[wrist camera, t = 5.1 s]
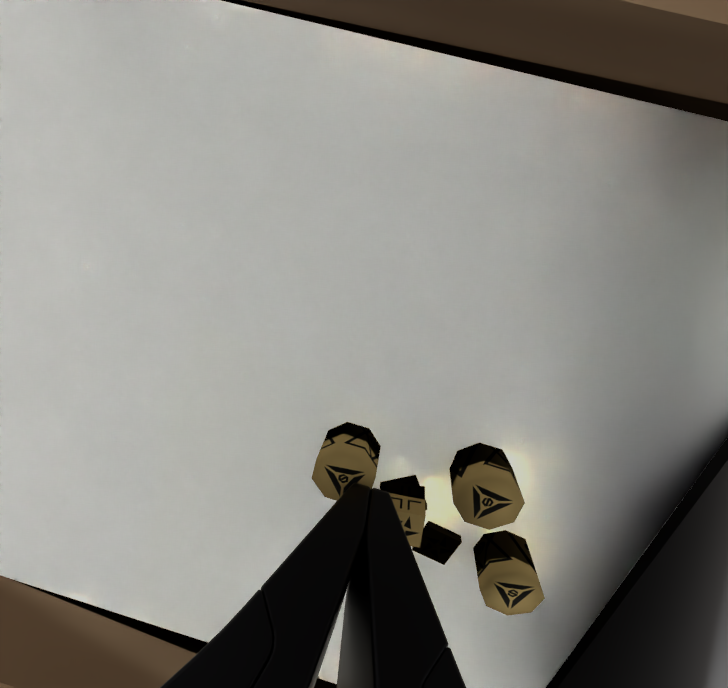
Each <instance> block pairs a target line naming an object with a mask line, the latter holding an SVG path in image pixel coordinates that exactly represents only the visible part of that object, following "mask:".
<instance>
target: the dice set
mask: <svg viewBox="0 0 728 688" xmlns="http://www.w3.org/2000/svg"><path fill="white" fill-rule="evenodd" d="M380 447H381V446H380V444H379V443H378V441H377V440H376V438H375V437H374V435H373V433H372V432H371V430H370V429H369V428H366V427H363V426H360V425H356V424H353V423H350V422H346V423H344V424H341V425H339V426H337V427H335V428H333V429H330V430H328V433H327V435H326V437H325V440H324V442H323V445H322V447H321V449H320V452H319V454H318V457H317V459H316V463H315V467H314V471H313V475H312V480H313V481H314V482H315V484H316V485H317V487H318V488H319V489H320V491H321V492H322V494H323V495H324V497H327V498H330V499H333V500H337V501H338V500H339V498H340V497H341V496H342V495H343V494H344V493H345V492H346V490H347V489H348V488H349V487H350V486H351V485H352V484H353V483H359V484H362V485H366V486H369V487H370V489H372V486H373V483H374V480H375V477H376V472H377V465H378V459H379V453H380ZM449 470H450V478H451V487H452V495H453V503H454V505H455V506H456V508H457V510H458V511H459V513H460V515H461V517H462V518H463V520H464V522H467V523H470V524H473V525H476V526H479V527H483V528H486V529H489V530H490V529H493V528H496V527H500V526H503V525H506V524H509V523H513V522H514V521H515V519H516V518H517V516H518V514H519V512H520V510H521V509H522V507H523V505H524V503H525V502H524V499H523V497H522V494H521V491H520V488H519V486H518V483H517V480H516V477H515V475H514V472H513V469H512V467H511V465H510V463H509V461H508V459H507V457H506V455H505V454H504V452H503V450H502V449H499V448H496V447H492V446H489V445H486V444H483V443H477V444H474V445H471V446H469V447H466V448H463V449H461V450H458V451H457V453H456V455H455V457H454V459H453V462H452V464H451V466H450V469H449ZM380 490H383V491H387V492H388V493H389V494H390V496H391V498H392V501H393V503H394V506H395V509H396V511H397V514H398V516H399V519H400V521H401V524H402V526H403V529H404V532H405V534H406V537H407V539H408V542H409V544H410V546H412V550H413V551H415V552H417V553H419V554H422V555H424V556H426V557H428V558H430V559H432V560H435V561H437V562H439V563H441V564H443V565H445V563H446V562H447V561H448V559H449V558H450V557H451V555H452V554H453V553H454V552H455V550H456V549H457V548H458V546H459V545H460V544H461V543H462V539H461V535H459V534H456V533H454V532H452V531H450V530H448V529H446V528H443V527H441V526H439V525H437V524H435V523H433V522H430V521H428V522H427V524H426V525H425V527H424V528H423V526H424V521H425V510H427V503H426V500H425V487H424V486H420V485H419V482H418V479H417V477H416V475H412V476H407V477H402V478H398V479H393V480H388V481H383V482H380ZM473 551H474V557H475V563H476V569H477V576H478V582H479V588H480V591H481V594H482V596H483V599H484V601H485V604H486V606H488V607H490V608H492V609H494V610H496V611H499V612H501V613H503V614H505V615H515V614H523V613H531V612H532V611H533V610H534V609H535V608H536V607H537V606H538V605H539V604H540V603H541V602H542V601H543V600H544V599H545V597H544V594H543V591H542V588H541V585H540V582H539V579H538V576H537V573H536V570H535V567H534V564H533V561H532V557H531V554H530V551H529V548H528V545H527V542H526V539H524V538H522V537H520V536H517V535H515V534H513V533H511V532H509V531H506V530H504V531H498V532H493V533H487V534H483V536H482V537H481V538H480V540H479V541H478V542H477V544H476V545H475V546H474V547H473Z"/></svg>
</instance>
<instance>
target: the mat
mask: <svg viewBox="0 0 728 688" xmlns="http://www.w3.org/2000/svg"><path fill="white" fill-rule="evenodd" d="M546 688H728V437H727V438H726V440H725V441H724V443H723V444H722V445H721V447H720V448H719V449H718V451H717V452H716V454H715V455H714V456H713V458H712V459H711V460H710V462H709V463H708V465H707V466H706V467H705V469H704V470H703V471H702V473H701V474H700V476H699V477H698V478H697V480H696V481H695V482H694V484H693V485H692V487H691V488H690V489H689V491H688V492H687V493H686V495H685V496H684V498H683V499H682V500H681V502H680V503H679V505H678V506H677V507H676V509H675V510H674V511H673V513H672V514H671V516H670V517H669V518H668V520H667V521H666V522H665V524H664V525H663V527H662V528H661V529H660V531H659V532H658V533H657V535H656V536H655V538H654V539H653V540H652V542H651V543H650V544H649V546H648V547H647V549H646V550H645V551H644V553H643V554H642V555H641V557H640V558H639V560H638V561H637V562H636V564H635V565H634V566H633V568H632V569H631V571H630V572H629V573H628V575H627V576H626V577H625V579H624V580H623V582H622V583H621V584H620V586H619V587H618V588H617V590H616V591H615V593H614V594H613V595H612V597H611V598H610V600H609V601H608V602H607V604H606V605H605V606H604V608H603V609H602V611H601V612H600V613H599V615H598V616H597V617H596V619H595V620H594V622H593V623H592V624H591V626H590V627H589V628H588V630H587V631H586V633H585V634H584V635H583V637H582V638H581V639H580V641H579V642H578V644H577V645H576V646H575V648H574V649H573V650H572V652H571V653H570V655H569V656H568V657H567V659H566V660H565V661H564V663H563V664H562V666H561V667H560V668H559V670H558V671H557V672H556V674H555V675H554V677H553V678H552V679H551V681H550V682H549V684H548V685H547V686H546Z"/></svg>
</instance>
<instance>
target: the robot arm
mask: <svg viewBox="0 0 728 688" xmlns="http://www.w3.org/2000/svg"><path fill="white" fill-rule="evenodd" d="M347 586H348V588H347ZM346 589H347V594H346V601H345V610H344V620H343V630H342V640H341V650H340V660H339V670H338V679H337V688H466V686H465V684H464V681H463V679H462V676H461V674H460V672H459V669H458V666H457V664H456V661H455V659H454V656H453V654H452V651H451V649H450V648H448V641H447V639H446V636H445V634H444V631H443V628H442V626H441V623H440V621H439V618H438V616H437V613H436V611H435V608H434V605H433V603H432V600H431V598H430V595H429V593H428V590H427V588H426V585H425V583H424V580H423V577H422V575H421V572H420V570H419V567H418V565H417V562H416V560H415V557H414V554H413V552H412V549H411V547H410V544H409V542H408V539H407V537H406V534H405V532H404V529H403V526H402V524H401V521H400V519H399V516H398V514H397V511H396V509H395V506H394V503H393V501H392V498H391V496H390V494H389V493H388V492H387V491H383V490H380V489H376V488H372V489H370V487H369V486H366V485H362V484H359V483H353V484H352V485H351V486H350V487H349V488H348V489H347V490H346V492H345V493H344V494H343V495H342V496H341V497H340V498H339V500H338V501H337V502H336V503H335V504H334V505H333V506H332V507H331V509H330V510H329V511H328V512H327V513H326V514H325V515H324V517H323V518H322V519H321V520H320V521H319V522H318V523H317V524H316V526H315V527H314V528H313V529H312V530H311V531H310V532H309V534H308V535H307V536H306V537H305V538H304V539H303V540H302V541H301V543H300V544H299V545H298V546H297V547H296V548H295V549H294V551H293V552H292V553H291V554H290V555H289V556H288V557H287V558H286V560H285V561H284V562H283V563H282V564H281V565H280V566H279V568H278V569H277V570H276V571H275V572H274V573H273V574H272V575H271V577H270V578H269V579H268V580H267V581H266V582H265V583H264V584H263V586H262V587H261V590H258V591H257V592H256V593H255V594H254V595H253V597H252V598H251V599H250V600H249V601H248V602H247V603H246V605H245V606H244V607H243V608H242V609H241V610H240V611H239V612H238V613H237V614H236V615H235V616H234V617H233V618H232V620H231V621H230V622H229V623H228V624H227V625H226V626H225V627H224V628H223V629H222V630H221V631H220V632H219V633H218V634H217V635H216V636H215V637H214V638H213V639H212V640H211V641H210V642H209V643H208V644H207V645H205V646H204V647H203V648H202V649H201V650H200V651H199V652H198V653H197V654H196V655H195V656H194V657H193V658H192V659H191V660H190V661H188V662H187V663H186V664H185V665H184V666H183V667H182V668H181V669H180V670H179V671H177V672H176V673H175V674H174V675H173V676H172V677H171V678H170V679H169V680H168V681H166V682H165V683H164V684H163V685H162V686H161V687H160V688H314V686H315V683H316V680H317V677H318V674H319V671H320V668H321V665H322V662H323V659H324V656H325V653H326V650H327V647H328V644H329V641H330V638H331V635H332V632H333V629H334V626H335V623H336V620H337V617H338V614H339V611H340V608H341V605H342V602H343V599H344V596H345V593H346Z"/></svg>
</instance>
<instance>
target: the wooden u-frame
mask: <svg viewBox="0 0 728 688" xmlns="http://www.w3.org/2000/svg"><path fill="white" fill-rule="evenodd" d="M222 1H226V2H230V3H234V4H238V5H243V6H247V7H251V8H255V9H259V10H264V11H268V12H272V13H276V14H280V15H284V16H289V17H293V18H297V19H301V20H305V21H309V22H314V23H318V24H322V25H326V26H330V27H335V28H339V29H343V30H347V31H351V32H355V33H360V34H364V35H368V36H372V37H376V38H380V39H385V40H389V41H393V42H397V43H401V44H406V45H410V46H414V47H418V48H422V49H426V50H431V51H435V52H439V53H443V54H447V55H451V56H456V57H460V58H464V59H468V60H472V61H477V62H481V63H485V64H489V65H493V66H497V67H502V68H506V69H510V70H514V71H518V72H523V73H527V74H531V75H535V76H539V77H543V78H548V79H552V80H556V81H560V82H564V83H568V84H573V85H577V86H581V87H585V88H589V89H594V90H598V91H602V92H606V93H610V94H614V95H619V96H623V97H627V98H631V99H635V100H639V101H644V102H648V103H652V104H656V105H660V106H665V107H669V108H673V109H677V110H681V111H685V112H690V113H694V114H698V115H702V116H706V117H710V118H715V119H719V120H723V121H727V122H728V0H222ZM207 644H208V642H205V641H201V640H198V639H195V638H192V637H189V636H186V635H183V634H180V633H177V632H174V631H170V630H167V629H164V628H161V627H158V626H155V625H152V624H149V623H146V622H143V621H139V620H136V619H133V618H130V617H127V616H124V615H121V614H118V613H115V612H112V611H109V610H105V609H102V608H99V607H96V606H93V605H90V604H87V603H84V602H81V601H78V600H74V599H71V598H68V597H65V596H62V595H59V594H56V593H53V592H50V591H47V590H44V589H40V588H37V587H34V586H31V585H28V584H25V583H22V582H19V581H16V580H13V579H9V578H6V577H3V576H0V688H160V687H161V686H162V685H163V684H164V683H165V682H166V681H168V680H169V679H170V678H171V677H172V676H173V675H174V674H175V673H176V672H177V671H179V670H180V669H181V668H182V667H183V666H184V665H185V664H186V663H187V662H188V661H190V660H191V659H192V658H193V657H194V656H195V655H196V654H197V653H198V652H199V651H200V650H201V649H202V648H203V647H204V646H205V645H207ZM314 688H337V684H335V683H331V682H328V681H325V680H322V679H319V678H317V680H316V683H315V686H314Z"/></svg>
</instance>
